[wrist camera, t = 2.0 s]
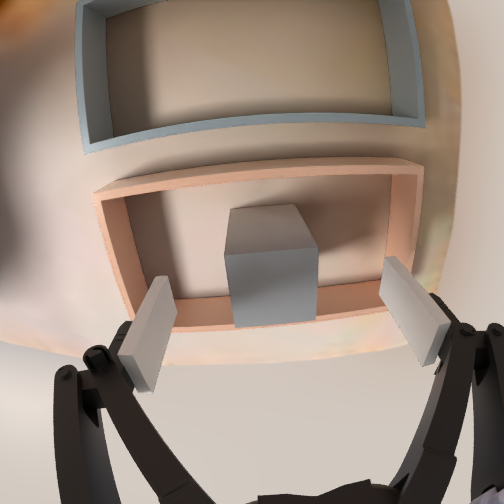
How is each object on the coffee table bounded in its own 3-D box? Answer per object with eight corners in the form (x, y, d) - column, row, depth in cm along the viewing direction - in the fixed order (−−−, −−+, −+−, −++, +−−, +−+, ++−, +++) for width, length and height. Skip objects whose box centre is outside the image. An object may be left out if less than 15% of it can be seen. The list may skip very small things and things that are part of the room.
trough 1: (108, 147, 19) (84, 154, 16) (99, 15, 14) (76, 2, 10) (398, 124, 19) (425, 128, 16) (382, -5, 14) (404, -20, 10)
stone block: (236, 265, 24) (235, 328, 17) (230, 209, 22) (223, 255, 15) (295, 260, 24) (315, 320, 17) (294, 203, 22) (318, 247, 15)
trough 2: (147, 306, 26) (136, 333, 22) (114, 180, 21) (91, 193, 17) (385, 284, 26) (403, 308, 22) (398, 157, 20) (424, 166, 17)
